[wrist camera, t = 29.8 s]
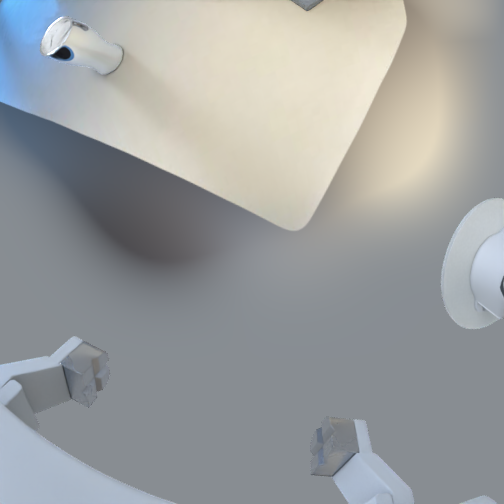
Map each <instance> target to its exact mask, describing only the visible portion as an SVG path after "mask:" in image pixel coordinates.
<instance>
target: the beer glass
mask: <svg viewBox="0 0 504 504" xmlns="http://www.w3.org/2000/svg"><path fill="white" fill-rule="evenodd" d="M40 52H41V54H42V55H43V56H46V57H48V58H50V59H52V60H55V61H57V62H60V63H63V64H67V65H74V66H84V67H90V68H92V69H94V70H95V71H96V72H98V73H99V74H103V75H104V74H109V73H111V72H112V71H114V70H115V69H116V68H117V67H118V65H119V64H120V62H121V60H122V57H123V50H122V48H121V47H120V46H118V45H116V44H112V43H109V42H107V41H105V40H104V39H103V38H102V37H101V36H100V34H99V33H97V32H96V31H95V30H94V29H93V28H92V27H90V26H89V25H87V24H85V23H83V22H81V21H79V20H76V19H73V18H70V17H69V16H64V17H61V18H59V19H58V20H56V21H55V22H54V23H53V24H52V25H51V26H50V27H49V28H48V30H47V31H46V33H45V34H44V36H43V38H42V41H41V44H40Z"/></svg>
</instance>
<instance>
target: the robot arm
mask: <svg viewBox="0 0 504 504" xmlns="http://www.w3.org/2000/svg"><path fill="white" fill-rule="evenodd" d="M470 284H471V290H472V292H473V295H474V298H475V301H474V307H475V310H476V311H478V312H491V313H492V314H493V315H494V316H496V317H497V318H498V319H502V318H504V227H503V228H502V229H501V230H500V231H499V232H498V233H496V234H494V235H492V236H490V237H489V238H488V239H486V240H485V242H484V243H483V244H482V245H481V247H480V248H479V250H478V252H477V254H476V256H475V258H474V261H473V264H472V268H471V274H470ZM107 361H108V354H107V353H106V352H104V351H103V350H101V349H99V348H97V347H95V346H93V345H91V344H89V343H87V342H85V341H83V340H81V339H79V338H78V337H76V336H75V337H72V338H70V339H69V340H68V341H67V342H66V343H65V344H64V345H63V346H61V347H60V348H59V349H58V350H57V351H56V352H55V353H54V354H53V355H52V356H51V357H47V356H44V357H39V358H34V359H29V360H24V361H19V362H13V363H8V364H2V365H0V504H177V503H174V502H171V501H168V500H165V499H162V498H159V497H157V496H154V495H151V494H149V493H146V492H143V491H141V490H139V489H136V488H134V487H131V486H129V485H127V484H125V483H122V482H120V481H118V480H116V479H114V478H112V477H110V476H108V475H106V474H104V473H102V472H100V471H98V470H96V469H94V468H92V467H90V466H88V465H87V464H85V463H83V462H82V461H80V460H78V459H76V458H75V457H73V456H71V455H70V454H68V453H67V452H65V451H63V450H62V449H60V448H59V447H57V446H56V445H54V444H53V443H51V442H50V441H48V440H47V439H45V438H44V437H43V436H41V435H40V434H38V433H37V432H36V431H37V429H38V428H39V423H38V421H37V419H36V417H35V415H34V414H36V413H38V412H41V411H43V410H46V409H49V408H51V407H54V406H56V405H59V404H61V403H64V402H66V401H69V400H71V399H73V400H75V401H77V402H79V403H81V404H82V405H84V406H86V407H88V408H89V407H90V406H91V405H92V403H93V402H94V400H95V399H96V398H97V391H100V390H103V389H104V387H105V386H106V384H107V382H108V380H109V375H110V370H109V367H108V366H107V364H106V363H107ZM310 451H311V453H312V454H313V455H314V457H313V459H312V460H311V475H320V476H331V477H332V479H333V480H334V482H335V483H336V485H337V486H338V488H339V489H340V491H341V493H342V494H343V496H344V497H345V498H346V500H347V502H348V503H349V504H415V502H414V497H413V493H412V489H411V488H410V487H409V486H408V485H407V484H406V483H405V482H404V481H403V480H401V478H400V477H399V476H398V475H397V474H396V473H395V472H394V471H393V470H392V469H391V468H390V467H389V466H388V465H387V464H386V463H385V462H384V461H383V460H382V459H381V458H380V457H379V456H378V455H377V454H376V453H373V452H372V448H371V443H370V439H369V434H368V430H367V425H366V422H365V421H364V420H353V419H345V418H335V417H326V418H324V420H323V421H322V427H321V428H319V429H317V430H316V431H315V433H314V434H313V437H312V440H311V446H310ZM460 504H497V503H496V502H495V501H494V500H492V499H491V498H489V497H488V496H480V497H477V498H474V499H471V500H468V501H466V502H463V503H460Z"/></svg>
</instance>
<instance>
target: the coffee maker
mask: <svg viewBox="0 0 504 504" xmlns="http://www.w3.org/2000/svg"><path fill="white" fill-rule="evenodd" d="M291 1H293V2H294V3H296V4H297V5H299V6H301V7H302V8H303V9H305V10H306V11H308V10H310V9H311V8H312V7H314V6H315V5H317V4H318V3H320V2H321V1H323V0H291Z"/></svg>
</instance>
